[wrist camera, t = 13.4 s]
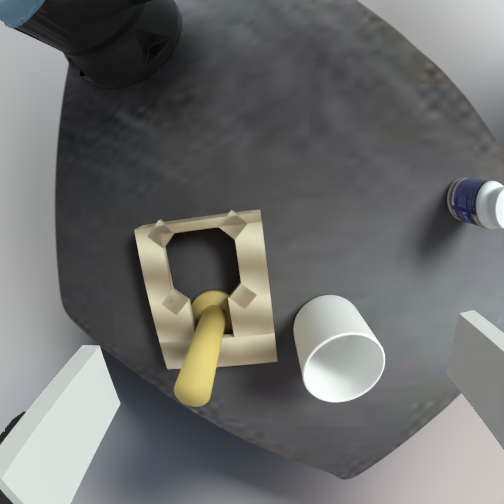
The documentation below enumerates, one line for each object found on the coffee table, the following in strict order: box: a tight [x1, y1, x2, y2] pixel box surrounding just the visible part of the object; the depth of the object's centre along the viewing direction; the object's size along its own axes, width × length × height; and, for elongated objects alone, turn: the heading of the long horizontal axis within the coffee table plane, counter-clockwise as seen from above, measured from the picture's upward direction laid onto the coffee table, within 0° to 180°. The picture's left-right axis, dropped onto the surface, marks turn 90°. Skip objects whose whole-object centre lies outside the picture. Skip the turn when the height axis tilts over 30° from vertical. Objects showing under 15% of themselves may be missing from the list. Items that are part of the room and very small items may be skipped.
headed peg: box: [174, 290, 233, 407], centre depth 32 cm, size 6×6×16 cm
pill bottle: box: [447, 178, 504, 229], centre depth 31 cm, size 6×6×10 cm
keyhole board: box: [134, 209, 277, 369], centre depth 37 cm, size 19×14×3 cm
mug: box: [293, 295, 385, 402], centre depth 35 cm, size 9×12×11 cm
